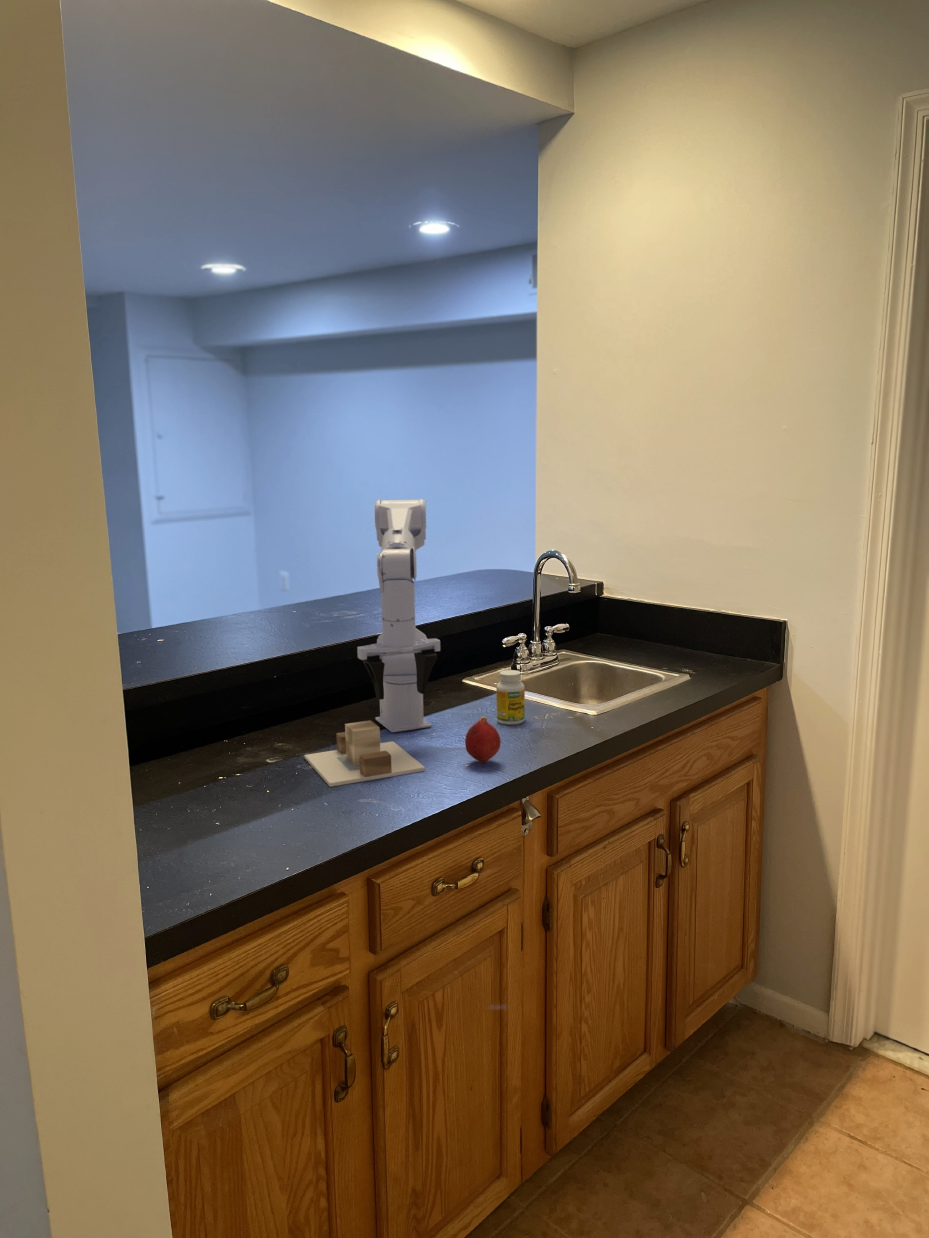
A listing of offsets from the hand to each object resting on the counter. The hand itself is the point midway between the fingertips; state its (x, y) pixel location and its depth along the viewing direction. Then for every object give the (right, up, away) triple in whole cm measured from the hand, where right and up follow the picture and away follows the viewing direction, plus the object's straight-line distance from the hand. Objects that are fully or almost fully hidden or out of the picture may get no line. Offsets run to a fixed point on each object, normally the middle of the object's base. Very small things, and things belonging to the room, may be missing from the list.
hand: (400, 695), depth 163 cm
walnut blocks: (-6, -11, -7) cm, 14 cm away
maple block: (-6, -10, -7) cm, 14 cm away
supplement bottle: (+20, -6, +16) cm, 26 cm away
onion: (+14, -11, -7) cm, 19 cm away
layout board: (-6, -11, -7) cm, 14 cm away
